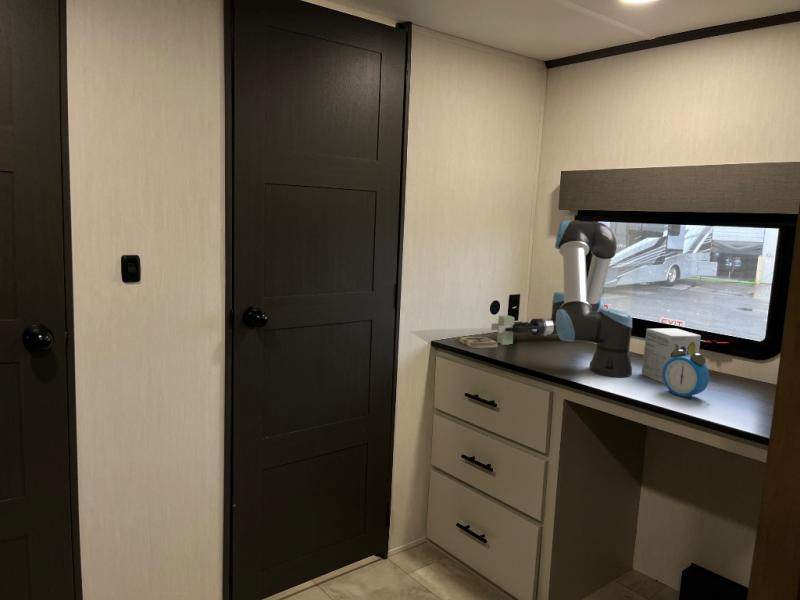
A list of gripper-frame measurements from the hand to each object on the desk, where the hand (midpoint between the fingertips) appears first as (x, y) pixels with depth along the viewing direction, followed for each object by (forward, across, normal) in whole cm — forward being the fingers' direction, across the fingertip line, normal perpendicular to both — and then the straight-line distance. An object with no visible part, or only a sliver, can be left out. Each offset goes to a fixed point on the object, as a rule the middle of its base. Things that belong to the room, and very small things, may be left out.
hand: (495, 328), depth 264 cm
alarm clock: (-26, -80, -7) cm, 85 cm away
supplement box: (-37, -62, -7) cm, 73 cm away
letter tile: (+8, 0, -7) cm, 10 cm away
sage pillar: (-5, 0, -7) cm, 9 cm away
